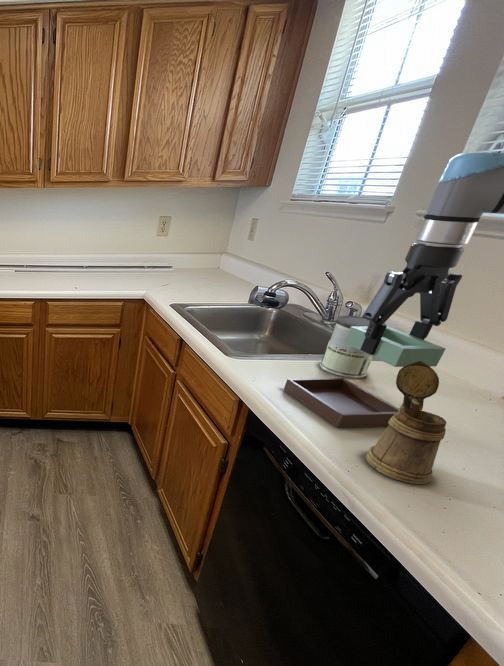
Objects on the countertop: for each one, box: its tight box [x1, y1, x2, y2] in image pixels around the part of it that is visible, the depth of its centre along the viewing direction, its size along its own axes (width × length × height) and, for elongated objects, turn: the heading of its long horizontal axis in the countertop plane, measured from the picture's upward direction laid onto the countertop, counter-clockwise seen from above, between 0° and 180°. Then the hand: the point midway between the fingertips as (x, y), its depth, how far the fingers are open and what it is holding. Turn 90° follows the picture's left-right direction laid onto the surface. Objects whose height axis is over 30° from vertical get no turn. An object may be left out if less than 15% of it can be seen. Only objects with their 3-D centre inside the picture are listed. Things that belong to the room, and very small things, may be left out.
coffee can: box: [319, 315, 387, 379], centre depth 111 cm, size 10×10×14 cm
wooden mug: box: [365, 361, 447, 485], centre depth 74 cm, size 9×14×18 cm, turn 155°
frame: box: [344, 325, 446, 368], centre depth 89 cm, size 13×9×4 cm
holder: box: [283, 377, 400, 429], centre depth 96 cm, size 17×15×3 cm
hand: (388, 352), depth 90 cm, fingers closed on frame, 9 cm apart
